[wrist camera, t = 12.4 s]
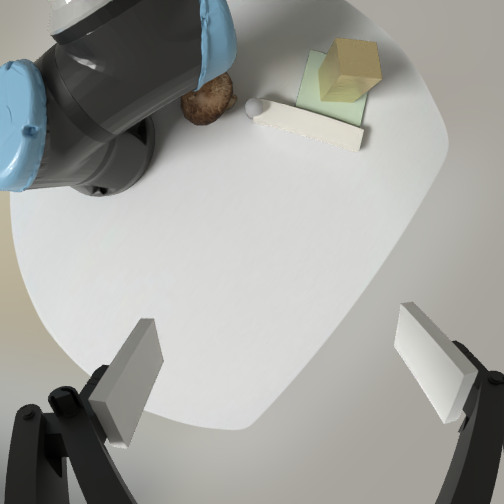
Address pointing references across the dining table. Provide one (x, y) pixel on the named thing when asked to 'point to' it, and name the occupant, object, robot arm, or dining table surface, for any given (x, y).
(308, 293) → the dining table surface
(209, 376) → the dining table surface
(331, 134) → the door edge
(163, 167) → the dining table surface
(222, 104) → the mushroom
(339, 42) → the block
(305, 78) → the plate
